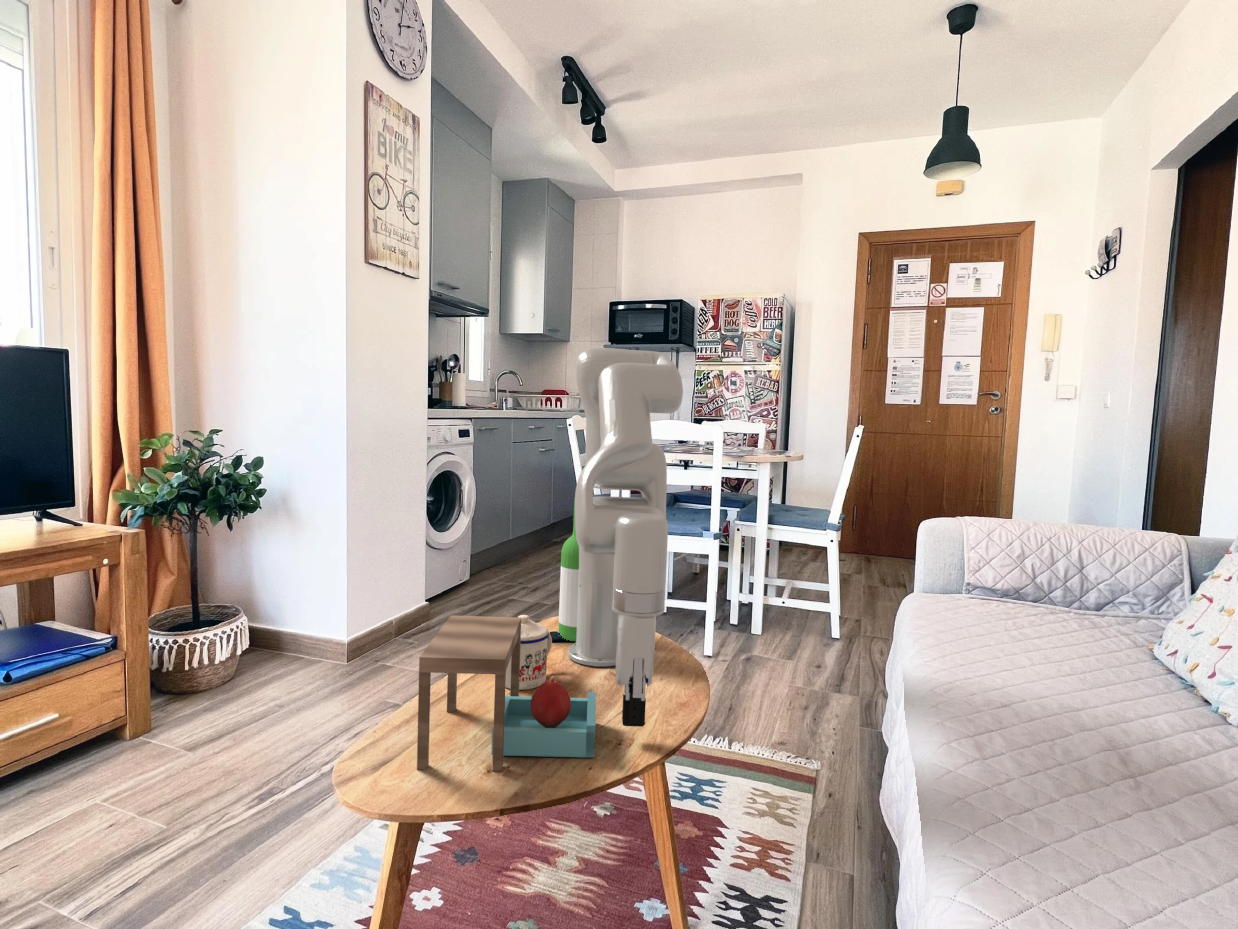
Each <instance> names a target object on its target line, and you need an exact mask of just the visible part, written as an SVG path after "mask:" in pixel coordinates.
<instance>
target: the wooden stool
mask: <svg viewBox="0 0 1238 929" xmlns="http://www.w3.org/2000/svg"><path fill="white" fill-rule="evenodd" d="M520 643H521V618H518V616H517V617H514V616H513V617H511V616H509V617H507V616H484V615H483V616H480V615H479V616H477V615H475V616H474V615H450V616H449V617H448V619H446V621H445V623H444V624H443V625H442V627H440V629H439V631H437V633H436V634H435V636H434V637H433V638H432V640H431V641H430V642H429V644H428V645H427V646H426V648H425V649H424V650H423V652H422V653H421V654H420V656H419V657H418V699H417V700H418V703H417V708H418V709H417V741H416V742H417V746H416V747H417V750H416V751H417V752H416V758H417V759H416V770H418V769H419V770H421V771H424V770H426V771H427V770H428V767H429V762H430V761H429V760H430V724H431V722H430V720H431V718H430V715H431V714H430V713H431V712H430V711H431V679H432V678H431V676H432V675H431V674H432V673H435V674H436V673H437V674H447V681H446V682H447V686H446V687H447V688H446V690H447V692H446V694H447V695H446V696H447V697H446V713H455V712H456V710H457V697H458V696H457V691H458V689H457V685H458V674H464V675H465V674H470V675H472V674H473V675H494V677H495V678H494V700H493V702H494V704H493V705H494V706H493V707H494V708H493V726H494V734H493V755H492V767H491V770H492V772H503V767H504V755H503V748H504V716H505V696H506V688H505V683H506V669H507V667H508V664H509V661H510V658H511V689H509V690H510V695H509V696H520V690H519V674H520ZM511 656H512V657H511Z"/></svg>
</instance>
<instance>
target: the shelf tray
mask: <svg viewBox="0 0 1238 929" xmlns="http://www.w3.org/2000/svg"><path fill="white" fill-rule="evenodd" d="M596 695H597V692H596V691H587V697H570V699H571V709H570V713H569V715H568V716H567V718H566V719H565V720H564V721H563V722H562V723H561V724H559V725H558V726H557V727H556V728H545V727H544V726H542V725H541V724H539V723H538V722H537V721H536V720H535V718H534V717H533V715H532V712H531V699H532V696H520V695H519V696H510V695H507V696H506V695H505V716H504V748H503V756H513V757H514V756H517V757H520V756H521V757H555V758H556V757H557V758H558V757H561V758H564V757H565V758H595V745H596V716H597V715H596V711H597V710H596V707H597V706H596V704H597V702H596V700H597V699H596V698H597V696H596ZM491 730H492V731H491V756H493V734H494V725H493V726H492V729H491Z"/></svg>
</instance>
